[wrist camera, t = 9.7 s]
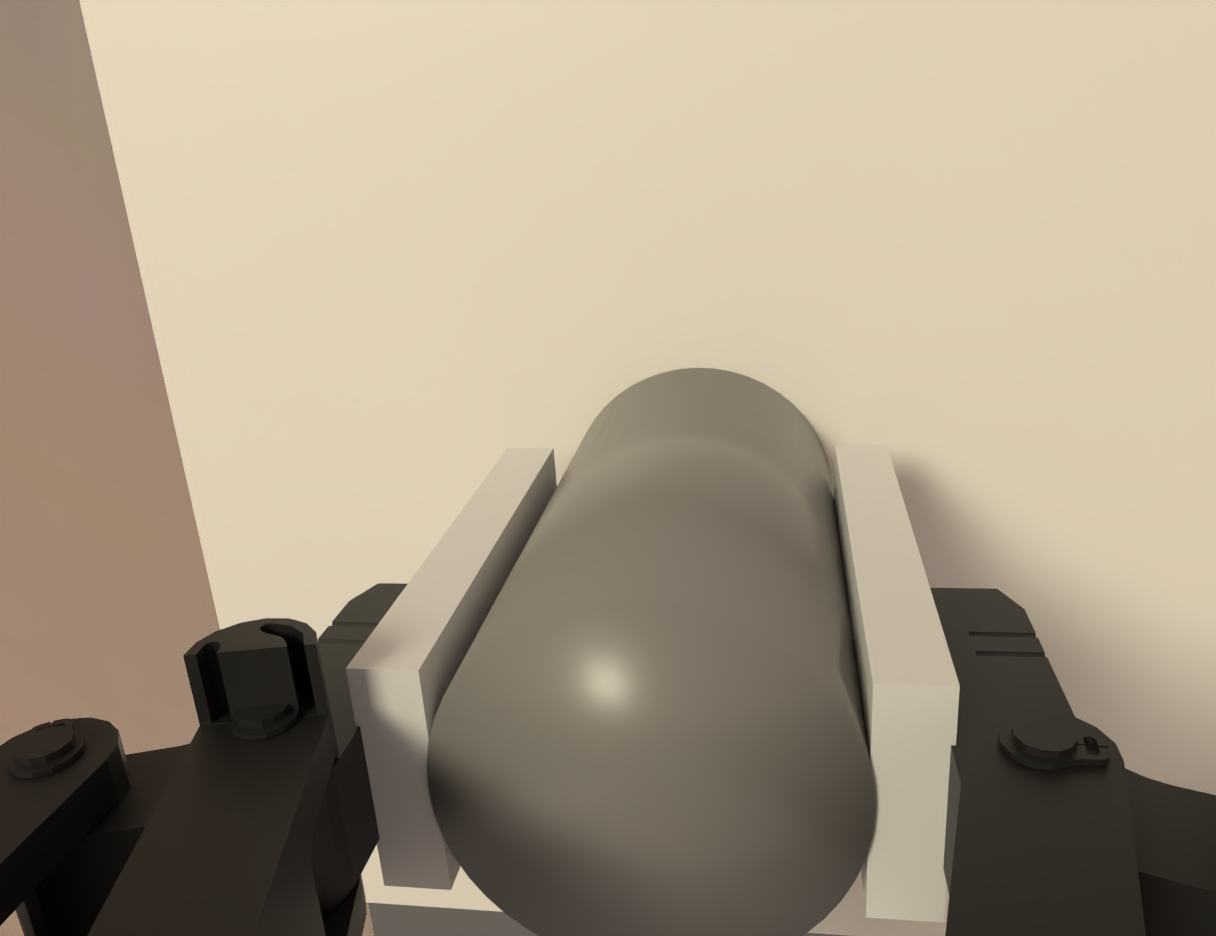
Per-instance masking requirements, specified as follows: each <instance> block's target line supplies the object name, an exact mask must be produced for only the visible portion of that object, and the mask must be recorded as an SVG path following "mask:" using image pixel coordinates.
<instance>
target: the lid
mask: <svg viewBox="0 0 1216 936" xmlns="http://www.w3.org/2000/svg"><path fill="white" fill-rule="evenodd" d="M79 1H80V5H81V9H82V14H83V18H84V23H85V27H86V32H87V36H88V41H89V45H90V50H91V54H92V59H93V63H94V68H95V72H96V77H97V81H98V85H99V90H100V94H101V99H102V103H103V108H104V112H105V117H106V121H107V126H108V130H109V135H110V139H111V144H112V148H113V153H114V157H115V162H116V166H117V170H118V175H119V179H120V184H121V188H122V193H123V197H124V202H125V206H126V211H127V215H128V220H129V224H130V229H131V233H132V238H133V242H134V247H135V251H136V255H137V260H138V264H139V269H140V273H141V278H142V282H143V287H144V291H145V296H146V300H147V305H148V309H149V314H150V318H151V323H152V327H153V331H154V336H155V340H156V345H157V349H158V354H159V358H160V363H161V367H162V372H163V376H164V381H165V385H166V390H167V394H168V399H169V403H170V408H171V412H172V416H173V421H174V425H175V430H176V434H177V439H178V443H179V448H180V452H181V457H182V461H183V466H184V470H185V475H186V479H187V484H188V488H189V492H190V497H191V501H192V506H193V510H194V515H195V519H196V524H197V528H198V533H199V537H200V542H201V546H202V551H203V555H204V560H205V564H206V569H207V573H208V577H209V582H210V586H211V591H212V595H213V600H214V604H215V609H216V613H217V618H218V622H219V627H220V630H221V629H224V628H227V627H230V626H233V625H236V624H238V623H242V622H247V621H253V620H259V619H264V618H290V619H293V620H297V621H301V622H304V623H307V624H308V625H309V626H310V627H311V628H312V629H313V630H315V631H316V634H317V639H318V638H319V637H320V636H321V635H322V633H323V632H324V631H325V630H326V628H327V627H328V626H332V621H333V620H334V619H335V617H336V616H337V615H338V614H339V613H340V611H341V610H342V609H343V608H344V607H345V605H346V604H347V603H348V602H349V601H350V600H352V599H353V598H355V597H356V596H358V595H360V594H361V593H363V592H365V591H366V590H368V589H370V588H371V587H373V586H375V585H376V584H378V583H398V584H408V583H409V581H410V580H411V579H412V577H413V576H414V575H415V573H416V572H417V571H418V569H419V568H420V566H421V565H422V564H423V562H424V561H425V560H426V558H427V557H428V556H429V554H430V553H431V551H432V550H433V549H434V547H435V546H436V545H437V543H438V542H439V541H440V539H441V538H442V536H443V535H444V534H445V532H446V531H447V530H448V528H449V527H450V526H451V524H452V523H453V521H454V520H455V519H456V517H457V516H458V515H459V513H460V512H461V511H462V509H463V508H464V506H465V505H466V504H467V502H468V501H469V500H470V498H471V497H472V496H473V494H474V493H475V491H476V490H477V489H478V487H479V486H480V485H481V483H482V482H483V481H484V479H485V478H486V476H487V475H488V474H489V472H490V471H491V470H492V468H493V467H494V466H495V464H496V463H497V461H498V460H499V459H500V457H501V456H502V455H503V453H504V452H505V451H506V449H507V448H554V458H555V469H556V481H557V488H556V489H555V491H554V493H553V495H552V497H551V499H550V500H549V502H548V504H547V506H546V508H545V510H544V512H543V513H542V515H541V517H540V519H539V521H538V523H537V524H536V526H535V528H534V530H533V532H532V534H531V536H530V537H529V539H528V541H527V543H526V545H525V547H524V548H523V550H522V552H521V554H520V556H519V558H518V560H517V561H516V563H515V565H514V567H513V569H512V571H511V572H510V574H509V576H508V578H507V580H506V582H505V584H504V585H503V587H502V589H501V591H500V593H499V595H498V596H497V598H496V600H495V602H494V604H493V606H492V607H491V609H490V611H489V613H488V615H487V617H486V619H485V620H484V622H483V624H482V626H481V628H480V630H479V631H478V633H477V635H476V637H475V639H474V641H473V643H472V644H471V646H470V648H469V650H468V652H467V654H466V655H465V657H464V659H463V661H462V663H461V665H460V667H459V668H458V670H457V672H456V674H455V676H454V678H453V679H452V681H451V683H450V685H449V687H448V689H447V691H446V692H445V694H444V696H443V698H442V701H441V703H440V705H439V708H438V710H437V713H436V715H435V717H434V720H433V725H432V729H431V733H430V737H429V741H428V753H427V778H428V790H429V794H430V798H431V803H432V807H433V812H434V815H435V817H436V820H437V822H438V825H439V828H440V830H441V833H442V835H443V837H444V839H445V841H446V843H447V845H448V847H449V848H450V850H451V852H452V854H453V856H454V857H455V859H456V860H457V862H458V863H459V864H460V866H461V867H460V869H459V871H458V874H457V876H456V879H455V881H454V884H453V886H452V889H451V890H443V889H427V888H412V887H397V886H384V882H383V876H382V870H381V865H380V859H379V853H378V848H377V845H376V847H375V849H374V850H373V852H372V854H371V856H370V858H369V860H368V862H367V864H366V866H365V868H364V870H363V871H362V873H361V876H362V881H363V886H364V892H365V897H366V902H368V903H382V904H397V905H411V906H426V907H440V908H455V909H470V910H484V911H499V912H504V913H505V914H507V915H508V916H509V917H511V918H512V919H514V920H515V921H516V922H518V923H519V924H521V925H522V926H523V927H525V928H526V929H528V930H530V931H531V932H533V933H535V934H537V935H538V936H803V935H805V934H806V933H818V934H832V935H847V936H945V934H946V924H947V914H948V905H949V893H948V888H947V890H946V906H945V921H944V923H942V922H927V921H912V920H897V919H882V918H867V917H866V914H865V904H864V895H863V885H862V876H861V868H862V866H863V864H864V862H865V859H866V856H867V853H868V850H869V846H870V843H871V839H872V836H873V828H874V819H875V791H874V780H873V775H872V771H871V766H870V759H869V751H868V744H867V737H866V730H865V722H864V715H863V708H862V700H861V693H860V686H859V679H858V671H857V664H856V657H855V649H854V642H853V635H852V628H851V620H850V613H849V606H848V598H847V591H846V584H845V577H844V569H843V562H842V555H841V548H840V540H839V533H838V526H837V518H836V511H835V504H834V473H835V445H887V447H888V451H889V454H890V457H891V461H892V464H893V467H894V471H895V474H896V477H897V480H898V484H899V487H900V490H901V494H902V497H903V500H904V504H905V507H906V510H907V513H908V517H909V520H910V523H911V527H912V530H913V533H914V536H915V540H916V543H917V546H918V550H919V553H920V556H921V560H922V563H923V566H924V569H925V573H926V576H927V579H928V583H929V586H930V588H988V589H998V590H1000V591H1001V592H1002V593H1004V594H1005V595H1006V596H1008V597H1009V598H1010V599H1012V600H1013V601H1014V602H1016V603H1017V604H1018V605H1020V606H1021V607H1022V608H1024V609H1025V611H1026V613H1027V615H1028V618H1029V620H1030V622H1031V624H1032V626H1033V628H1034V630H1035V632H1036V638H1038V639H1039V641H1040V643H1041V645H1042V647H1043V649H1044V652H1045V657H1047V658H1048V660H1049V662H1050V664H1051V666H1052V669H1053V671H1054V673H1055V675H1056V677H1057V679H1058V681H1059V683H1060V686H1061V688H1062V690H1063V692H1064V694H1065V696H1066V698H1067V700H1068V703H1069V705H1070V707H1071V709H1072V711H1073V713H1074V715H1075V717H1076V718H1078V719H1080V720H1082V721H1084V722H1087V723H1089V724H1091V725H1093V726H1095V727H1097V728H1098V729H1099V730H1101V731H1102V732H1103V733H1104V734H1105V735H1106V736H1108V737H1109V738H1110V739H1111V740H1112V741H1113V742H1115V743H1116V745H1117V747H1118V749H1119V751H1120V754H1121V756H1122V758H1123V760H1124V765H1125V768H1126V769H1128V770H1130V771H1133V772H1135V773H1137V774H1140V775H1142V776H1144V777H1146V778H1150V779H1153V780H1156V781H1160V782H1163V783H1166V784H1170V785H1173V786H1178V787H1182V788H1186V789H1191V790H1195V791H1199V792H1204V793H1208V794H1212V795H1216V0H79Z"/></svg>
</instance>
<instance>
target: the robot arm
mask: <svg viewBox="0 0 1216 936" xmlns="http://www.w3.org/2000/svg"><path fill="white" fill-rule="evenodd" d="M556 488H557V481H556V469H555V458H554V448H507V449H506V451H505V452H504V453H503V455H502V456H501V457H500V459H499V460H498V461H497V463H496V464H495V466H494V467H493V468H492V470H491V471H490V472H489V474H488V475H487V476H486V478H485V479H484V481H483V482H482V483H481V485H480V486H479V487H478V489H477V490H476V491H475V493H474V494H473V496H472V497H471V498H470V500H469V501H468V502H467V504H466V505H465V506H464V508H463V509H462V511H461V512H460V513H459V515H458V516H457V517H456V519H455V520H454V521H453V523H452V524H451V526H450V527H449V528H448V530H447V531H446V532H445V534H444V535H443V536H442V538H441V539H440V541H439V542H438V543H437V545H436V546H435V547H434V549H433V550H432V551H431V553H430V554H429V556H428V557H427V558H426V560H425V561H424V562H423V564H422V565H421V566H420V568H419V569H418V571H417V572H416V573H415V575H414V576H413V577H412V579H411V580H410V581H409V583H408V584H398V583H378V584H376V585H375V586H373V587H371V588H370V589H368V590H366V591H365V592H363V593H361V594H360V595H358V596H356V597H355V598H353V599H352V600H350V601H349V602H348V603H347V604H346V605H345V607H344V608H343V609H342V610H341V611H340V613H339V614H338V615H337V616H336V617H335V619H334V620H333V621H332V626H328V627H327V628H326V630H325V631H324V632H323V633H322V635H321V636H320V637H319V638H318V639H317V634H316V631H315V630H313V629H312V628H311V627H310V626H309V625H308V624H307V623H304V622H301V621H297V620H293V619H290V618H264V619H259V620H253V621H247V622H242V623H238V624H236V625H233V626H230V627H227V628H224V629H221V630H218V631H216V632H214V633H212V634H211V635H209V636H207V637H205V638H204V639H202V640H200V641H198V642H196V643H195V644H194V645H193V646H192V647H191V648H190V649H189V650H188V651H187V653H186V654H185V655H184V661H185V665H186V669H187V673H188V677H189V681H190V686H191V690H192V694H193V698H194V702H195V706H196V711H197V715H198V719H199V723H200V727H199V728H198V730H197V732H196V734H195V736H194V738H193V740H192V741H191V743H190V744H187V745H182V746H178V747H171V748H165V749H159V750H153V751H147V752H141V753H135V754H128V755H125V753H124V749H123V745H122V742H121V738H120V734H119V731H118V730H117V729H116V728H115V727H114V726H113V725H112V724H111V723H110V722H109V721H104V720H99V719H95V718H77V719H61V720H56V721H53V723H50V722H48V723H44V724H41V725H38V726H35V727H34V728H32V729H31V730H29V731H27V732H25V733H22V734H20V735H18V736H15V737H13V738H11V739H10V740H8V741H7V742H5V743H4V744H2V745H1V746H0V925H1V924H2V923H3V922H4V921H5V920H6V919H7V918H8V917H9V916H10V915H11V914H12V913H13V912H14V911H15V910H16V913H17V916H18V918H19V921H20V924H21V927H22V930H23V933H24V936H362V933H363V928H364V923H365V918H366V897H365V892H364V886H363V881H362V876H361V873H362V871H363V870H364V868H365V866H366V864H367V862H368V860H369V858H370V856H371V854H372V852H373V850H374V849H375V847H376V845H377V848H378V853H379V859H380V865H381V870H382V876H383V882H384V886H397V887H412V888H427V889H443V890H451V889H452V886H453V884H454V881H455V879H456V876H457V874H458V871H459V869H460V867H461V866H460V864H459V863H458V862H457V860H456V859H455V857H454V856H453V854H452V852H451V850H450V848H449V847H448V845H447V843H446V841H445V839H444V837H443V835H442V833H441V830H440V828H439V825H438V822H437V820H436V817H435V815H434V812H433V807H432V803H431V798H430V794H429V790H428V778H427V753H428V741H429V737H430V733H431V729H432V725H433V720H434V717H435V715H436V713H437V710H438V708H439V705H440V703H441V701H442V698H443V696H444V694H445V692H446V691H447V689H448V687H449V685H450V683H451V681H452V679H453V678H454V676H455V674H456V672H457V670H458V668H459V667H460V665H461V663H462V661H463V659H464V657H465V655H466V654H467V652H468V650H469V648H470V646H471V644H472V643H473V641H474V639H475V637H476V635H477V633H478V631H479V630H480V628H481V626H482V624H483V622H484V620H485V619H486V617H487V615H488V613H489V611H490V609H491V607H492V606H493V604H494V602H495V600H496V598H497V596H498V595H499V593H500V591H501V589H502V587H503V585H504V584H505V582H506V580H507V578H508V576H509V574H510V572H511V571H512V569H513V567H514V565H515V563H516V561H517V560H518V558H519V556H520V554H521V552H522V550H523V548H524V547H525V545H526V543H527V541H528V539H529V537H530V536H531V534H532V532H533V530H534V528H535V526H536V524H537V523H538V521H539V519H540V517H541V515H542V513H543V512H544V510H545V508H546V506H547V504H548V502H549V500H550V499H551V497H552V495H553V493H554V491H555V489H556ZM834 504H835V511H836V518H837V526H838V533H839V540H840V548H841V555H842V562H843V569H844V577H845V584H846V591H847V598H848V606H849V613H850V620H851V628H852V635H853V642H854V649H855V657H856V664H857V671H858V679H859V686H860V693H861V700H862V708H863V715H864V722H865V730H866V737H867V744H868V751H869V759H870V766H871V771H872V775H873V780H874V791H875V819H874V828H873V836H872V839H871V843H870V846H869V850H868V853H867V856H866V859H865V862H864V864H863V866H862V868H861V876H862V885H863V895H864V904H865V914H866V917H867V918H882V919H897V920H912V921H927V922H942V923H944V921H945V906H946V890H947V888H948V893H949V905H948V914H947V924H946V934H945V936H1216V795H1212V794H1208V793H1204V792H1199V791H1195V790H1191V789H1186V788H1182V787H1178V786H1173V785H1170V784H1166V783H1163V782H1160V781H1156V780H1153V779H1150V778H1146V777H1144V776H1142V775H1140V774H1137V773H1135V772H1133V771H1130V770H1128V769H1126V768H1125V765H1124V760H1123V758H1122V756H1121V754H1120V751H1119V749H1118V747H1117V745H1116V743H1115V742H1113V741H1112V740H1111V739H1110V738H1109V737H1108V736H1106V735H1105V734H1104V733H1103V732H1102V731H1101V730H1099V729H1098V728H1097V727H1095V726H1093V725H1091V724H1089V723H1087V722H1084V721H1082V720H1080V719H1078V718H1076V717H1075V715H1074V713H1073V711H1072V709H1071V707H1070V705H1069V703H1068V700H1067V698H1066V696H1065V694H1064V692H1063V690H1062V688H1061V686H1060V683H1059V681H1058V679H1057V677H1056V675H1055V673H1054V671H1053V669H1052V666H1051V664H1050V662H1049V660H1048V658H1047V657H1045V652H1044V649H1043V647H1042V645H1041V643H1040V641H1039V639H1038V638H1036V632H1035V630H1034V628H1033V626H1032V624H1031V622H1030V620H1029V618H1028V615H1027V613H1026V611H1025V609H1024V608H1022V607H1021V606H1020V605H1018V604H1017V603H1016V602H1014V601H1013V600H1012V599H1010V598H1009V597H1008V596H1006V595H1005V594H1004V593H1002V592H1001V591H1000V590H998V589H988V588H930V586H929V583H928V579H927V576H926V573H925V569H924V566H923V563H922V560H921V556H920V553H919V550H918V546H917V543H916V540H915V536H914V533H913V530H912V527H911V523H910V520H909V517H908V513H907V510H906V507H905V504H904V500H903V497H902V494H901V490H900V487H899V484H898V480H897V477H896V474H895V471H894V467H893V464H892V461H891V457H890V454H889V451H888V447H887V445H835V473H834Z"/></svg>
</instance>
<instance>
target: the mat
mask: <svg viewBox="0 0 1216 936" xmlns="http://www.w3.org/2000/svg"><path fill="white" fill-rule="evenodd" d="M369 908H370V913H371V918H372V924H373V929H374V934H375V936H538V935H537V934H535V933H533V932H531V931H530V930H528V929H526V928H525V927H523V926H522V925H521V924H519V923H518V922H516V921H515V920H514V919H512V918H511V917H509V916H508V915H507V914H505V913H504V912H499V911H484V910H470V909H455V908H440V907H426V906H411V905H397V904H382V903H369ZM803 936H847V935H832V934H818V933H806V934H805V935H803Z"/></svg>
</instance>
